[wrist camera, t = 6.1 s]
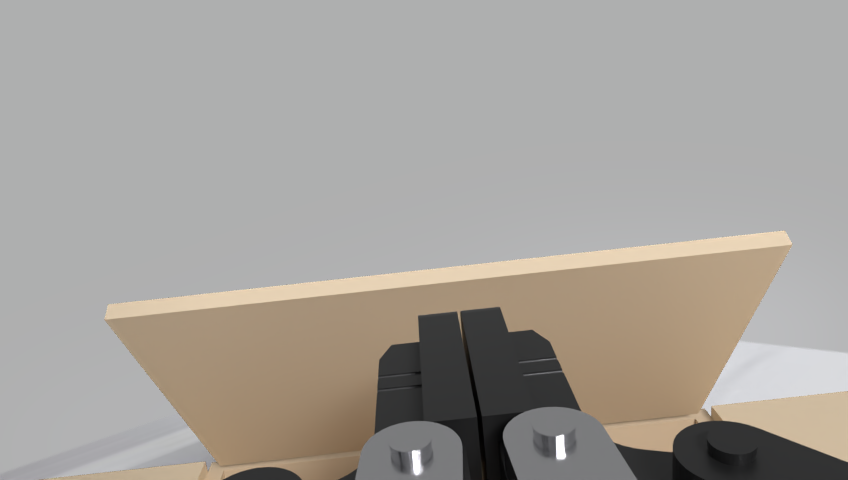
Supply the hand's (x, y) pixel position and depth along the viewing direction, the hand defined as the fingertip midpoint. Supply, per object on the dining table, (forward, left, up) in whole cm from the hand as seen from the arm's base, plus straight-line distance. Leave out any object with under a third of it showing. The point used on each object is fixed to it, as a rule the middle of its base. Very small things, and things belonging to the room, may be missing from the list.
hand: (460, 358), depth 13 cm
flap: (0, +8, -7) cm, 10 cm away
